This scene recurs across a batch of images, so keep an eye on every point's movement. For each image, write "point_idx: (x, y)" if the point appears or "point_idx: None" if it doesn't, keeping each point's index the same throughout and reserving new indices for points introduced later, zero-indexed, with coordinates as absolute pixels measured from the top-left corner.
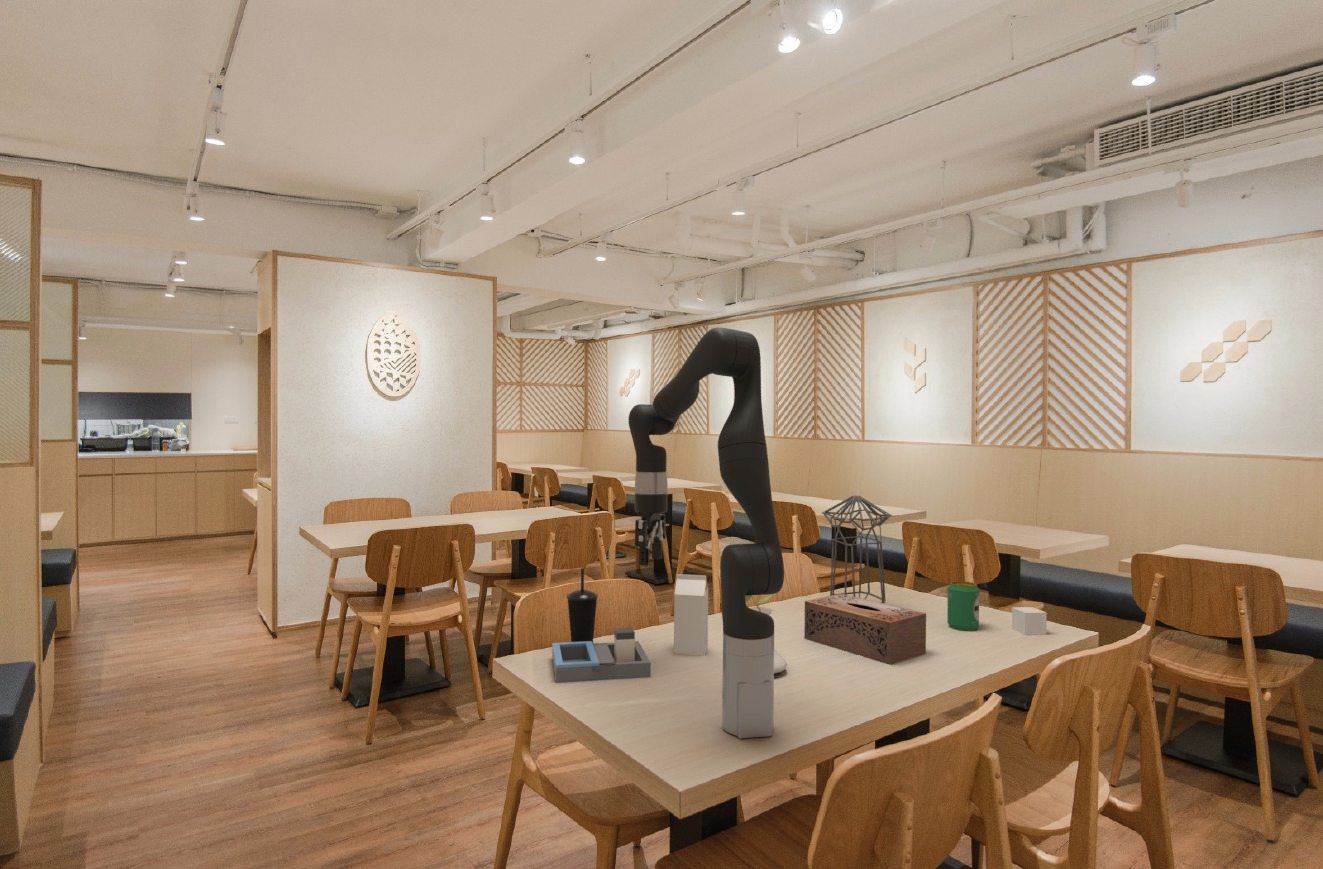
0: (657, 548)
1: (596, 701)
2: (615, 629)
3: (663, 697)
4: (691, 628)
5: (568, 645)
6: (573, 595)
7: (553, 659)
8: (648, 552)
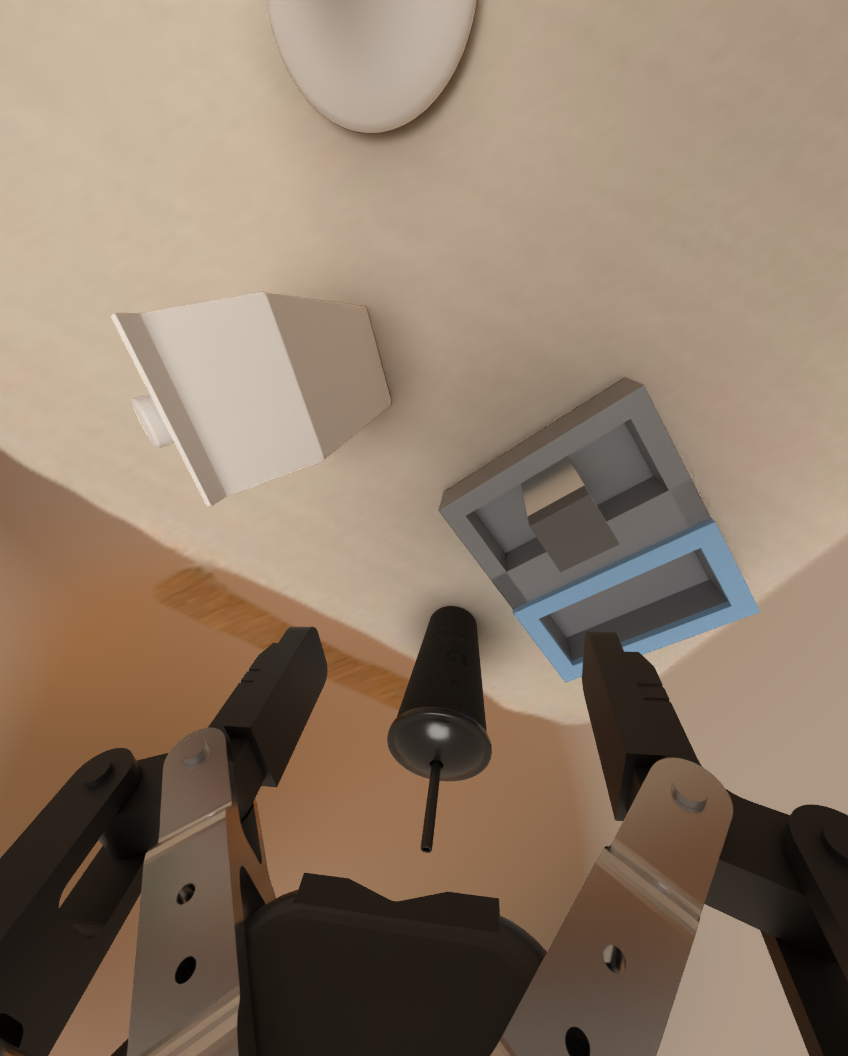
0: (284, 710)
1: (829, 447)
2: (576, 563)
3: (768, 269)
4: (348, 355)
5: (561, 647)
6: (476, 766)
7: None
8: (651, 720)
